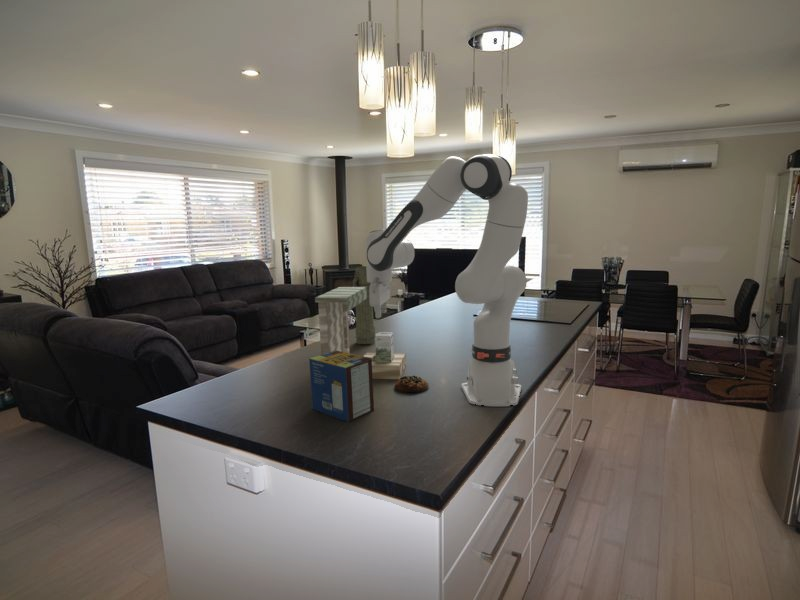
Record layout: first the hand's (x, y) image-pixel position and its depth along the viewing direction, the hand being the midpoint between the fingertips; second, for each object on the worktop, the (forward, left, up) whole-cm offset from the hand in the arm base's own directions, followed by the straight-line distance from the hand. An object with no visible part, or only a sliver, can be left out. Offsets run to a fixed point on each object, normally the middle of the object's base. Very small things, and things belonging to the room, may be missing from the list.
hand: (381, 315), depth 159 cm
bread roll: (-15, -12, -22) cm, 29 cm away
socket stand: (0, +6, -21) cm, 22 cm away
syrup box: (0, -1, -21) cm, 21 cm away
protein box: (-35, +5, -21) cm, 41 cm away
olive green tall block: (+42, +16, -21) cm, 50 cm away
